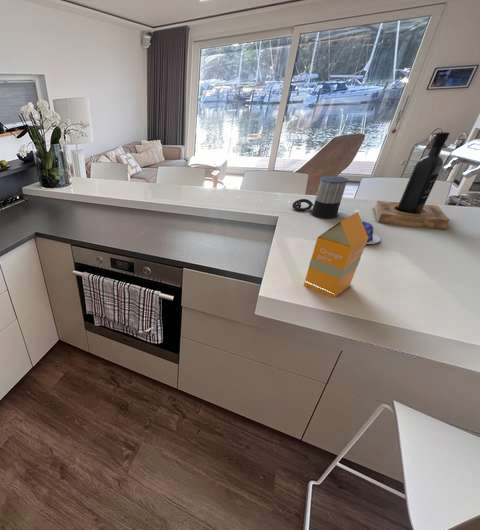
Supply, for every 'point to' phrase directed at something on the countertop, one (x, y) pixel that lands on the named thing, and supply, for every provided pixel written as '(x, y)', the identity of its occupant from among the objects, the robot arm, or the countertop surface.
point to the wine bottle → (423, 178)
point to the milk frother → (325, 197)
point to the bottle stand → (411, 216)
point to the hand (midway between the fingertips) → (454, 173)
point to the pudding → (370, 233)
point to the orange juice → (337, 256)
